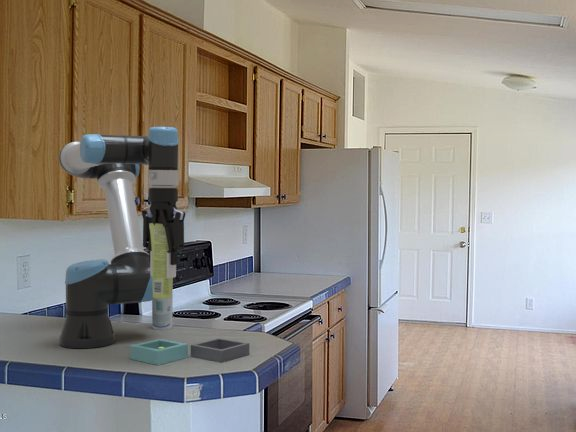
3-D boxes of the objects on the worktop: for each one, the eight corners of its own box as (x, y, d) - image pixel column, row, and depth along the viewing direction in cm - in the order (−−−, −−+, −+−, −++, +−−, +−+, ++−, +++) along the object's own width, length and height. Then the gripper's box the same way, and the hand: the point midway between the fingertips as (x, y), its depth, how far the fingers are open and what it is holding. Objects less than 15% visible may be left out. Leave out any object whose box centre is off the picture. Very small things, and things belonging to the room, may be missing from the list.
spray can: (174, 326, 230) (174, 263, 229) (170, 330, 223) (170, 266, 222) (154, 325, 230) (154, 263, 229) (149, 330, 223) (149, 266, 223)
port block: (130, 359, 186) (130, 343, 186) (160, 351, 194) (160, 336, 194) (158, 365, 180) (158, 348, 180) (187, 357, 188) (187, 341, 188)
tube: (165, 295, 191) (166, 222, 190) (177, 297, 188) (178, 223, 187) (148, 298, 187) (149, 223, 186) (160, 300, 184) (161, 224, 182)
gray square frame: (190, 356, 189) (190, 344, 189) (218, 348, 198) (218, 337, 198) (221, 362, 183) (221, 350, 183) (249, 354, 192) (249, 343, 191)
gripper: (128, 186, 188) (128, 274, 189) (178, 187, 177) (178, 281, 179) (149, 186, 194) (149, 271, 195) (199, 187, 183) (199, 277, 185)
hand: (163, 276), depth 187 cm, fingers closed on tube, 5 cm apart
